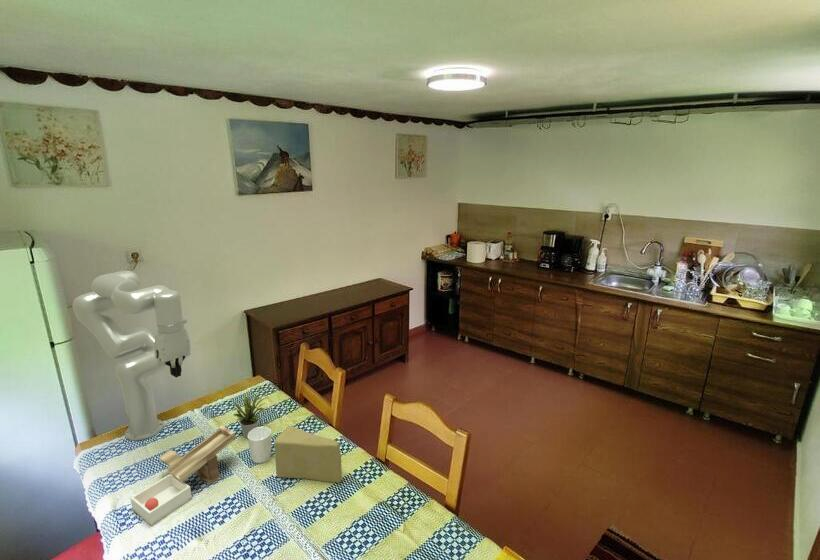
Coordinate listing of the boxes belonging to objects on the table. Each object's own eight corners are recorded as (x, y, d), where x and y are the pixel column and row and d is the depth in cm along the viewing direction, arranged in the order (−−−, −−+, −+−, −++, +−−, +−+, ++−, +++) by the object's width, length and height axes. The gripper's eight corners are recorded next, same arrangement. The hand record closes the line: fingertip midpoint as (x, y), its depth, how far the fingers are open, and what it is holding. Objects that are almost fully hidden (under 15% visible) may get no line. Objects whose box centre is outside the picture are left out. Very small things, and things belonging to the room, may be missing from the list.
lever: (156, 465, 134) (152, 456, 133) (210, 426, 150) (207, 417, 148) (183, 485, 127) (179, 475, 125) (237, 441, 142) (234, 432, 140)
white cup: (265, 466, 143) (263, 442, 140) (245, 462, 144) (243, 438, 141) (276, 451, 150) (275, 428, 147) (257, 448, 152) (255, 425, 149)
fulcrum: (193, 472, 139) (190, 450, 136) (204, 466, 142) (201, 444, 139) (210, 484, 134) (207, 461, 131) (221, 477, 137) (218, 454, 135)
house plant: (280, 431, 161) (277, 395, 157) (250, 450, 150) (246, 412, 146) (256, 419, 169) (254, 384, 164) (226, 436, 157) (222, 399, 153)
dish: (132, 509, 123) (130, 497, 122) (172, 484, 133) (171, 473, 132) (151, 526, 118) (149, 513, 117) (191, 498, 128) (190, 486, 127)
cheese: (347, 471, 141) (346, 434, 137) (335, 492, 132) (334, 453, 128) (290, 458, 147) (288, 423, 143) (275, 477, 138) (272, 440, 134)
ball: (157, 497, 125) (148, 509, 124) (148, 494, 123) (139, 506, 121) (163, 502, 124) (154, 514, 122) (154, 499, 121) (145, 511, 120)
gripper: (186, 317, 144) (191, 364, 149) (140, 330, 132) (148, 380, 137) (198, 323, 140) (203, 370, 145) (152, 336, 128) (159, 388, 133)
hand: (176, 375), depth 141 cm, fingers closed
